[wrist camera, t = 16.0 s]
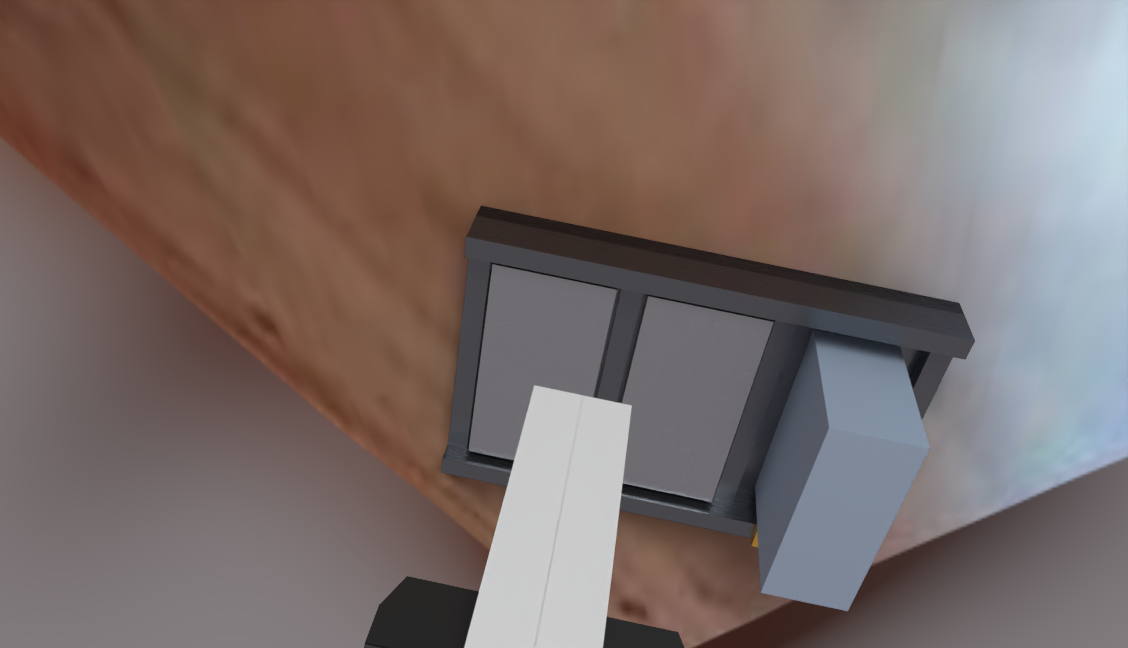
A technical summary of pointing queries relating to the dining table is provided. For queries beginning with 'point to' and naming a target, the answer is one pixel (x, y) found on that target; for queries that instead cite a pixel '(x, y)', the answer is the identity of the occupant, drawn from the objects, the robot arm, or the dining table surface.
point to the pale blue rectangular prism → (836, 469)
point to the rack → (661, 354)
